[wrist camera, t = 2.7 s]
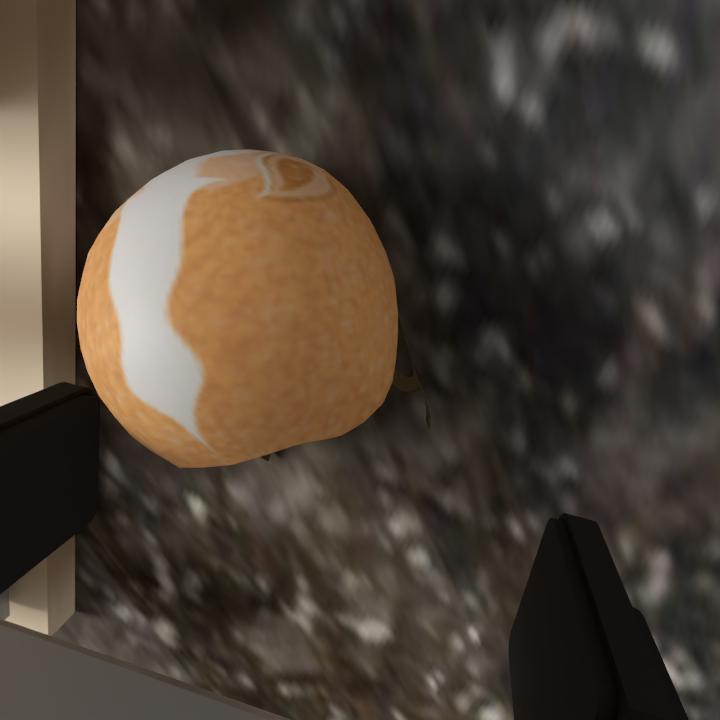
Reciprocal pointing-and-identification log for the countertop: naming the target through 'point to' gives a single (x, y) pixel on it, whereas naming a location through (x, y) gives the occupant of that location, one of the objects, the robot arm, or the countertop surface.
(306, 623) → the countertop surface
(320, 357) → the helmet
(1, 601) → the bookend
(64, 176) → the book rack
